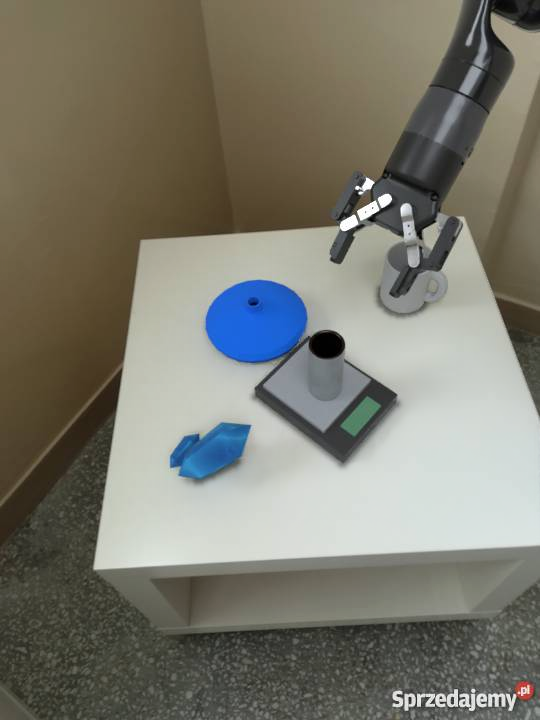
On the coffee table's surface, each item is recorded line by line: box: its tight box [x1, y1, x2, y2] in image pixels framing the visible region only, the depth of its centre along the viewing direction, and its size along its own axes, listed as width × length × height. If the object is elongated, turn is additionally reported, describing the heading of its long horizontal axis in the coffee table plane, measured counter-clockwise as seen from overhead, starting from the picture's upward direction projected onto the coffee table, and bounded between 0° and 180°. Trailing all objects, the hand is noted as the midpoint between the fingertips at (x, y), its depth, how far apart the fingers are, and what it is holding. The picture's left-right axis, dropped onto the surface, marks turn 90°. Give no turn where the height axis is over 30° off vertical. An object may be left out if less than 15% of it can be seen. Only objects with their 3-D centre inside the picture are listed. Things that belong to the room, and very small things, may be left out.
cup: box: [379, 240, 449, 314], centre depth 81 cm, size 7×10×9 cm
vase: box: [205, 279, 308, 364], centre depth 81 cm, size 16×16×7 cm
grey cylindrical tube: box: [308, 329, 346, 401], centre depth 69 cm, size 4×4×10 cm
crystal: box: [169, 421, 252, 480], centre depth 69 cm, size 7×9×12 cm
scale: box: [254, 335, 398, 464], centre depth 75 cm, size 16×12×3 cm
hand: (363, 279), depth 62 cm, fingers open, 8 cm apart
